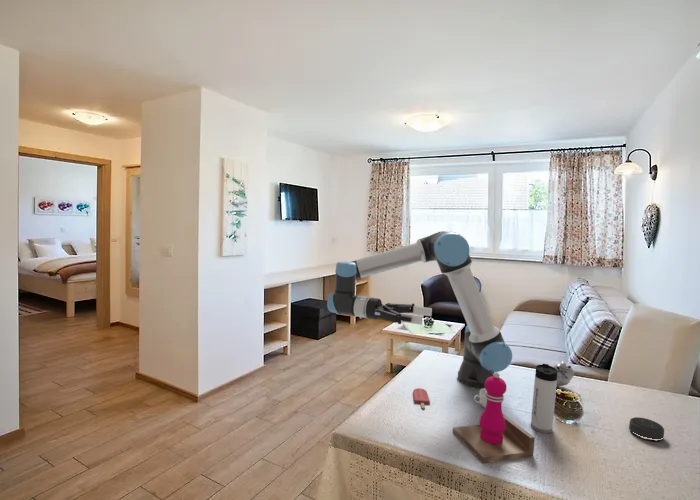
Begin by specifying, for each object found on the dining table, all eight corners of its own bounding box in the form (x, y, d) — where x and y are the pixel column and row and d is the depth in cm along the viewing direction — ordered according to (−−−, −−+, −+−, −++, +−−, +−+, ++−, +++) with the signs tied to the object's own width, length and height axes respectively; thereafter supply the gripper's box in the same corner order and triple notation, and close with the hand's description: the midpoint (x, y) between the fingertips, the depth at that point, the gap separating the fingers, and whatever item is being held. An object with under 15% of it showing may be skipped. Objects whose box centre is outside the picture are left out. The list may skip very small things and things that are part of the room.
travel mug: (550, 425, 132) (556, 365, 130) (553, 435, 126) (559, 372, 124) (529, 421, 134) (534, 362, 132) (531, 430, 128) (537, 368, 126)
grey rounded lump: (575, 386, 165) (572, 356, 165) (576, 394, 156) (572, 363, 156) (548, 385, 169) (544, 356, 170) (547, 392, 161) (543, 362, 161)
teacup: (495, 402, 147) (497, 388, 147) (505, 412, 139) (507, 397, 139) (469, 402, 146) (470, 387, 146) (477, 412, 138) (478, 397, 138)
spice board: (497, 427, 129) (499, 410, 128) (533, 456, 114) (534, 437, 113) (452, 432, 124) (453, 414, 124) (483, 463, 109) (484, 443, 109)
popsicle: (415, 405, 139) (412, 387, 154) (415, 410, 139) (412, 391, 154) (431, 406, 138) (426, 388, 153) (431, 411, 138) (426, 392, 153)
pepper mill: (474, 432, 122) (479, 367, 121) (497, 432, 123) (502, 367, 121) (484, 445, 115) (489, 377, 113) (509, 445, 116) (514, 377, 114)
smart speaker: (646, 444, 123) (648, 431, 123) (621, 428, 132) (623, 417, 132) (670, 442, 125) (672, 429, 125) (644, 427, 134) (645, 415, 134)
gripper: (380, 311, 158) (434, 319, 149) (354, 325, 135) (416, 336, 126) (381, 292, 157) (435, 299, 149) (355, 303, 135) (418, 312, 126)
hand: (427, 316), depth 137 cm, fingers open, 13 cm apart
